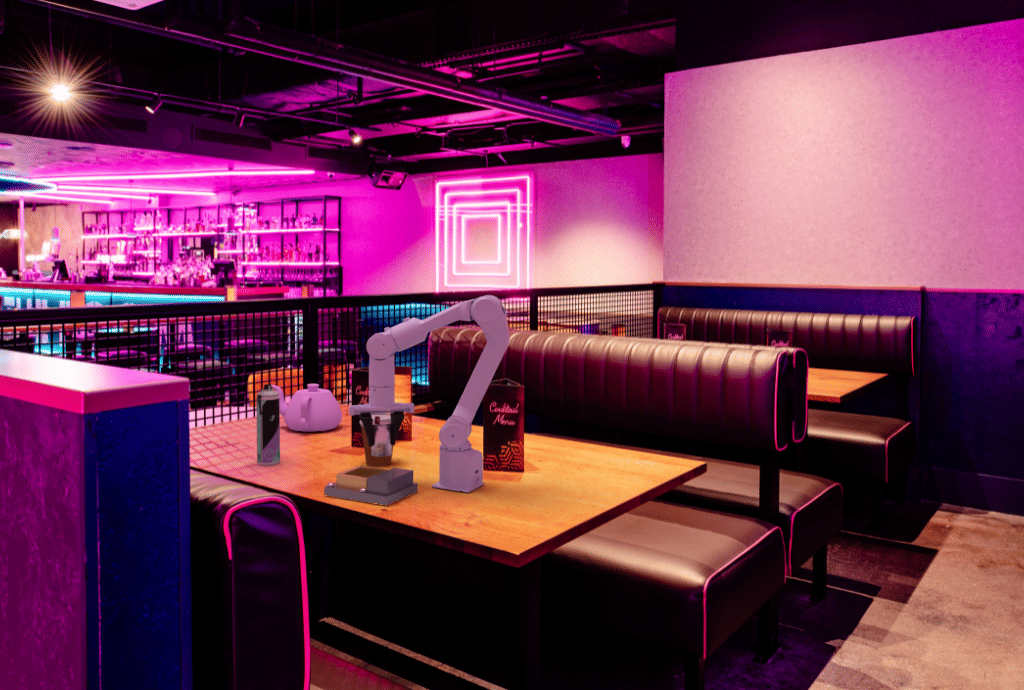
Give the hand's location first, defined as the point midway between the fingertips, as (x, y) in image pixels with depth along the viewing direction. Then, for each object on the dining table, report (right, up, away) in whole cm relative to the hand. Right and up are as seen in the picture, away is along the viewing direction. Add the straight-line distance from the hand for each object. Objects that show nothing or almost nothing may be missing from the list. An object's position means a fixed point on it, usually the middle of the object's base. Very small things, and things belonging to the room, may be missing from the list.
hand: (381, 445), depth 173 cm
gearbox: (-1, -10, -7) cm, 12 cm away
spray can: (-31, -7, +17) cm, 37 cm away
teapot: (-34, -3, +60) cm, 69 cm away
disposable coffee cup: (-4, -7, +19) cm, 21 cm away
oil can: (0, -2, 0) cm, 2 cm away
